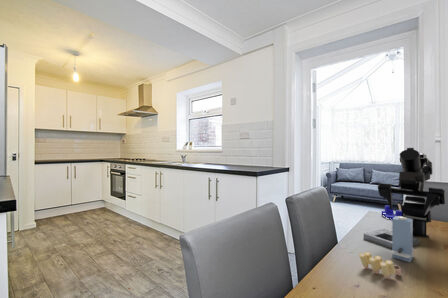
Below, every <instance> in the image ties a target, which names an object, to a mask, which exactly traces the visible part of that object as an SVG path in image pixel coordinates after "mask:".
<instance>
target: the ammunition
mask: <svg viewBox="0 0 448 298" xmlns="http://www.w3.org/2000/svg"><path fill="white" fill-rule="evenodd" d="M358 256H359V259H360V262H361V265H362V267H363V268H364V269H365V270H368V269H369V265H370V267H371V269H372V271H373V272H374V274H376V275H380V270H381V272H382V275H383V276H384V278H385V279H386V280H390V279H391V275H395V274H396V276H398V277H399V276H401V275H402V269H401V267H400V266H399V265H396V264H395V265H394V263H393V261H392V260H390V259H388V260H383V258H382V256H380V255H375V256H372V252H370V251H365V252H361V253H359V254H358Z"/></svg>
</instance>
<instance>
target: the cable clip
mask: <svg viewBox="0 0 448 298" xmlns="http://www.w3.org/2000/svg"><path fill="white" fill-rule="evenodd" d="M393 207H394V206H392V210H390V207H389V205H384V210H381V216H382V215H384V216H385V217H387V218H391V219H393V218H394V217H395V216H401V217H402V210H395V212H394V209H393ZM383 213H386V214H383ZM391 219H390V220H391Z"/></svg>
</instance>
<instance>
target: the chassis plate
mask: <svg viewBox="0 0 448 298" xmlns="http://www.w3.org/2000/svg"><path fill="white" fill-rule="evenodd" d="M363 240H366V241H369V242H370V243H371V242H372V243H374V244H378V245H379V246H380V245H381V246H382V247H386V248H388V249H391V250H392V230H390V229H386V228H382V229H378V230H373V231H369V232H364V233H363ZM419 244H420V239H419V238H417V237H415V236H413V247H414V246H418V245H419Z"/></svg>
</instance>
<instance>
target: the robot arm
mask: <svg viewBox="0 0 448 298" xmlns="http://www.w3.org/2000/svg"><path fill="white" fill-rule="evenodd" d="M399 163H400V165H401V168H402V171H399V173H398V174H399V177H398V187H392V184H391V183H385V182H384V183H382V182H380V183H378V184H377V190H378V193H379V197H381V198H383V199H384V200H386V201H387V202H388V206H389V207H390V210H392V207H393V200H394V199H393V194H398V195H404V196H405V198H404V200H403V201H404V202H403V203H402V204H401V211H402V217H406V218H410V219H413V237H421V238H430V235H429V234H427V224H428V223H432V212H431V210H432V209H433V208H434V207H436V206H440V205H445V204H446V192H445V191H446V190H445V189H443V188H440V187H428V191H427V190H426V191H425V185H426V181H428V180H430V179H431V176H432V175H433V172H434V171H433V162H432V161H430V159H429V158H428V157H427V154H425V153H421V152H419V151H417V150H416V149H415V147H406V149H405V150H402V151H400V153H399ZM425 198H426V199H425Z"/></svg>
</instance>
